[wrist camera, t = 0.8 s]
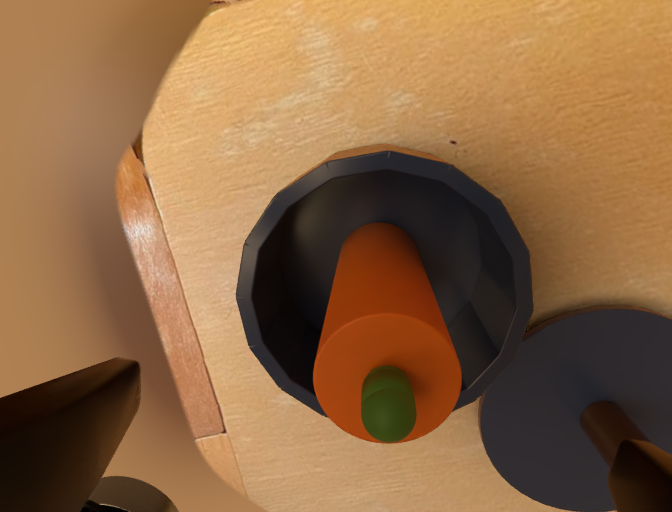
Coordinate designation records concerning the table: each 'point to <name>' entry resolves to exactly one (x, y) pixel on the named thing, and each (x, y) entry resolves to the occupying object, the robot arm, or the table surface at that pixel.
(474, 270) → the pot
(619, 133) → the table surface
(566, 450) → the lid
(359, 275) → the carrot
